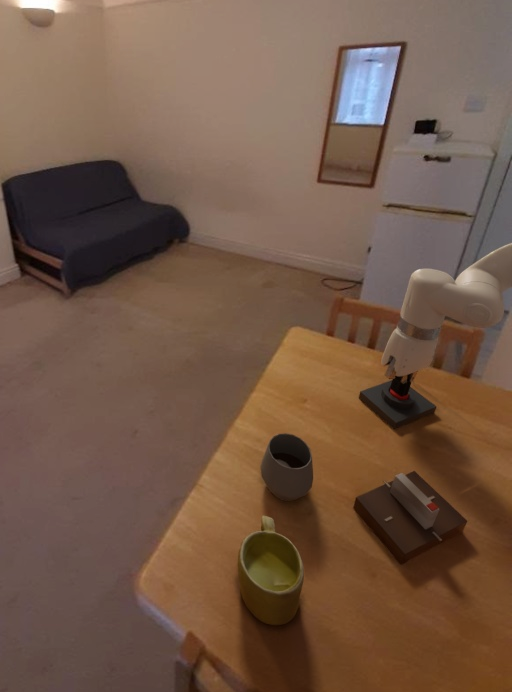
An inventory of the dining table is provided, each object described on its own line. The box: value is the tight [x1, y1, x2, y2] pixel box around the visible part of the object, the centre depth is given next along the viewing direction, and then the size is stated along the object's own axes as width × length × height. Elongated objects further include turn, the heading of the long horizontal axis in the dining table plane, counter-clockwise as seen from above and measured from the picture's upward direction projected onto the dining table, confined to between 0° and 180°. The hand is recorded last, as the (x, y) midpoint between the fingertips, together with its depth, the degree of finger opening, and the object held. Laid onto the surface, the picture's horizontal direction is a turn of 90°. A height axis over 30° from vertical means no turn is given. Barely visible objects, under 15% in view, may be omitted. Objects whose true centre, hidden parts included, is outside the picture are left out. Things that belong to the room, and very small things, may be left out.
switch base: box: [353, 470, 468, 566], centre depth 70 cm, size 14×11×3 cm
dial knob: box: [390, 472, 439, 530], centre depth 69 cm, size 7×2×5 cm, turn 20°
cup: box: [260, 432, 314, 502], centre depth 75 cm, size 10×9×10 cm
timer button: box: [390, 389, 408, 400], centre depth 93 cm, size 4×4×2 cm
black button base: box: [358, 379, 437, 431], centre depth 93 cm, size 12×10×4 cm
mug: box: [237, 515, 305, 626], centre depth 62 cm, size 12×10×10 cm
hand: (398, 391), depth 92 cm, fingers closed
